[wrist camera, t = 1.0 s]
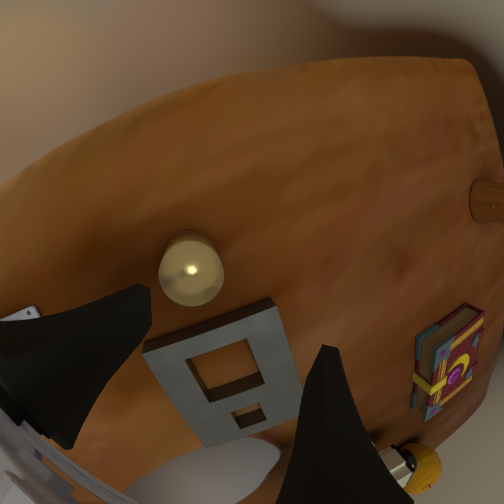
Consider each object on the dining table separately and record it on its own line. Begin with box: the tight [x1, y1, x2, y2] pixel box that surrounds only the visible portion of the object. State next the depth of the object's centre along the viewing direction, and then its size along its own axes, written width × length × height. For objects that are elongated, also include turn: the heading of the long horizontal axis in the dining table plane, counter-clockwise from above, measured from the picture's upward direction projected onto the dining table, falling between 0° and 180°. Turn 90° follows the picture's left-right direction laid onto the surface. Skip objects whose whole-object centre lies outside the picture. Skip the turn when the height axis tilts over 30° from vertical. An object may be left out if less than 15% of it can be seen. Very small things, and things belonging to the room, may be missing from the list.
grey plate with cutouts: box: [142, 297, 303, 448], centre depth 25 cm, size 12×14×2 cm
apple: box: [400, 443, 442, 494], centre depth 33 cm, size 10×10×12 cm
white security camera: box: [372, 442, 417, 488], centre depth 28 cm, size 6×12×12 cm, turn 100°
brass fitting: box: [158, 229, 224, 306], centre depth 20 cm, size 4×4×6 cm
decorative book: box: [410, 303, 484, 421], centre depth 31 cm, size 11×16×5 cm
